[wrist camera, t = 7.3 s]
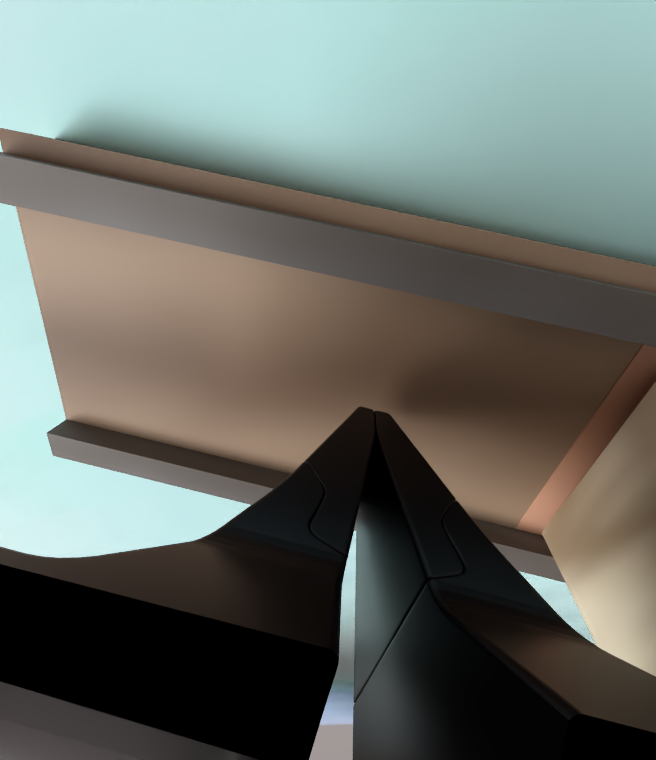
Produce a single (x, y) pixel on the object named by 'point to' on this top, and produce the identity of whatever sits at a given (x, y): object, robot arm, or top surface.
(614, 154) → the top surface
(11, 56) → the top surface
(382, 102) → the top surface
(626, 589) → the slider block
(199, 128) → the top surface
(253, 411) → the slider track
